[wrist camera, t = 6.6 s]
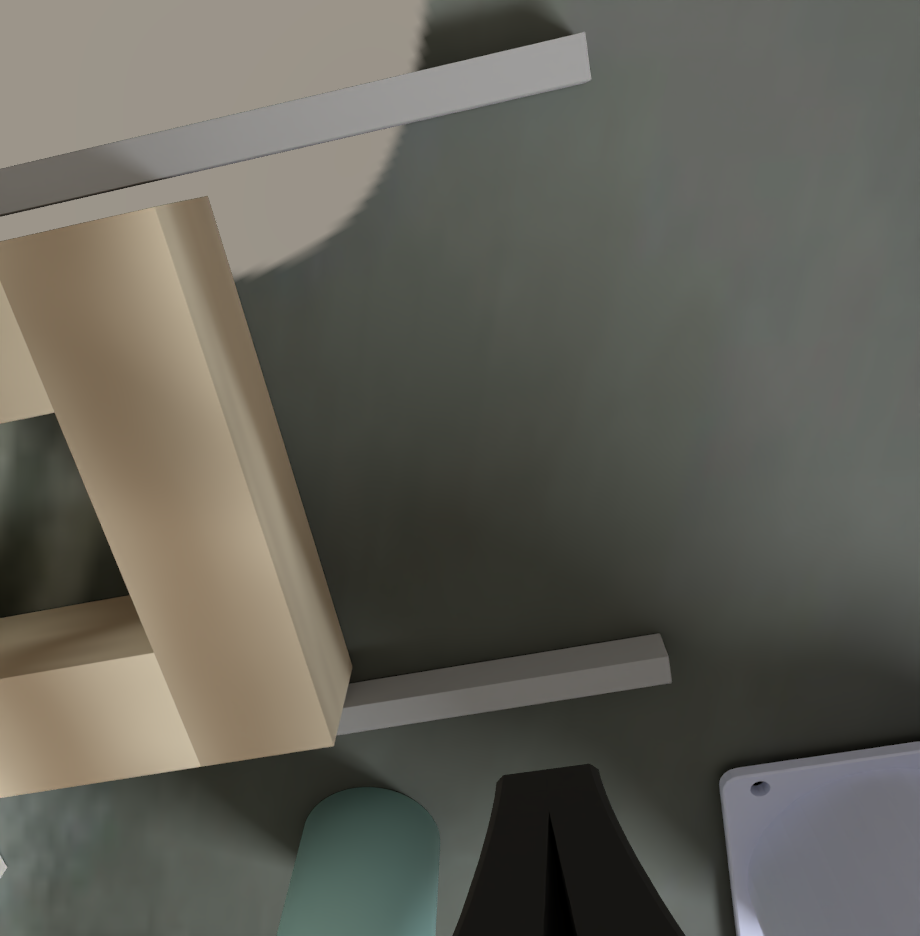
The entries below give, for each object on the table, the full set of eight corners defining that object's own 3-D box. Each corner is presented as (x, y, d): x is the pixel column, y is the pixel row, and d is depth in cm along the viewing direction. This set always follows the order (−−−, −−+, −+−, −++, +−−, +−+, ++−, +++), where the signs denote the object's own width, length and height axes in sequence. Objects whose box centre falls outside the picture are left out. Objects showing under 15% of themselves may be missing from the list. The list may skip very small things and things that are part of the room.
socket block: (207, 195, 17) (154, 206, 14) (352, 666, 21) (333, 746, 18) (-304, 310, 18) (-447, 341, 15) (-67, 735, 22) (-144, 819, 20)
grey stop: (546, -192, 14) (592, -404, 9) (678, 769, 22) (745, 977, 17) (-570, 99, 16) (-1102, 79, 11) (-85, 880, 24) (-250, 1098, 19)
